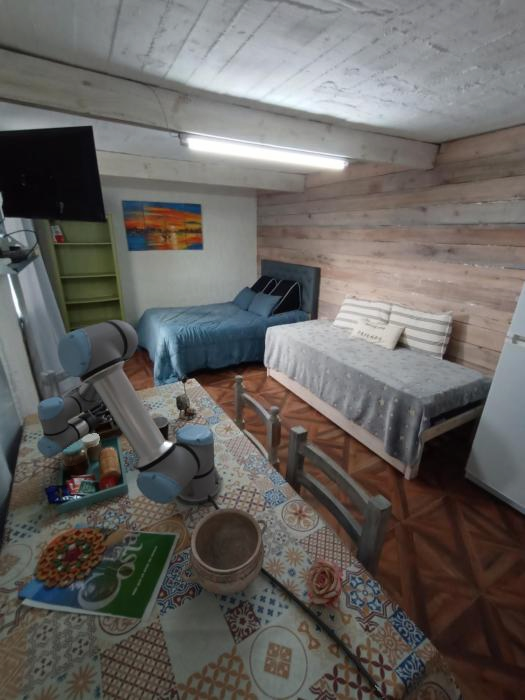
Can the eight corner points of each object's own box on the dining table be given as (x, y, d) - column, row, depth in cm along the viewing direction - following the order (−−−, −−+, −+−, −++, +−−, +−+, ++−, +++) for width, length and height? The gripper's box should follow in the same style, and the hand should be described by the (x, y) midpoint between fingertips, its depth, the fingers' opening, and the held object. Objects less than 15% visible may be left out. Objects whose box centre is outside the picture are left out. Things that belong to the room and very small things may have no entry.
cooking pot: (202, 639, 69) (199, 603, 64) (168, 569, 83) (163, 536, 78) (287, 569, 83) (289, 536, 79) (245, 520, 97) (246, 489, 93)
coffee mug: (167, 449, 127) (165, 428, 123) (146, 449, 127) (143, 428, 124) (175, 432, 138) (173, 412, 134) (155, 431, 138) (153, 412, 134)
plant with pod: (171, 418, 148) (168, 380, 141) (190, 408, 157) (187, 371, 150) (183, 424, 144) (180, 385, 137) (201, 413, 152) (199, 376, 145)
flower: (322, 557, 85) (311, 550, 80) (355, 575, 79) (345, 568, 74) (309, 598, 80) (296, 592, 76) (342, 619, 74) (331, 615, 70)
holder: (134, 429, 139) (133, 423, 138) (94, 441, 131) (93, 435, 130) (130, 420, 146) (129, 414, 145) (91, 431, 137) (90, 425, 136)
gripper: (67, 428, 124) (112, 400, 145) (102, 439, 118) (144, 409, 139) (63, 412, 122) (110, 386, 142) (99, 422, 116) (142, 394, 136)
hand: (127, 397), depth 140 cm, fingers closed on soda can, 5 cm apart
